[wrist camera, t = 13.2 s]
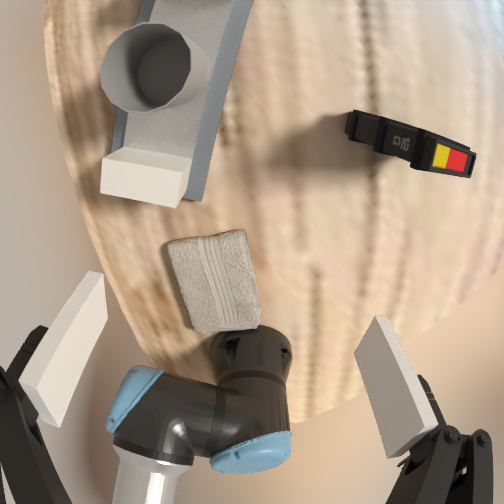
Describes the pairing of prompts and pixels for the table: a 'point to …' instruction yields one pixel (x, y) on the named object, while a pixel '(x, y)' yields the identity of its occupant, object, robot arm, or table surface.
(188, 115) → the steel rail
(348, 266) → the table surface
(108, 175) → the module
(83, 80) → the table surface
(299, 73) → the table surface
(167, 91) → the cup
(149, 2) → the rail board
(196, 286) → the washcloth
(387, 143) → the black ribbed block
